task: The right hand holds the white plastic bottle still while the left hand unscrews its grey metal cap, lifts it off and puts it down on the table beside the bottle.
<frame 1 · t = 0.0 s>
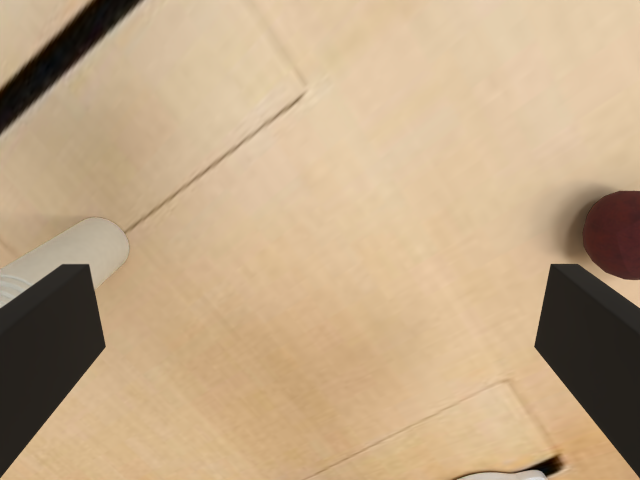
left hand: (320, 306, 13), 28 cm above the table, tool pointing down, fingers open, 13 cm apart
dark red ball: (604, 220, 41), on the table
bottle: (100, 244, 42), on the table
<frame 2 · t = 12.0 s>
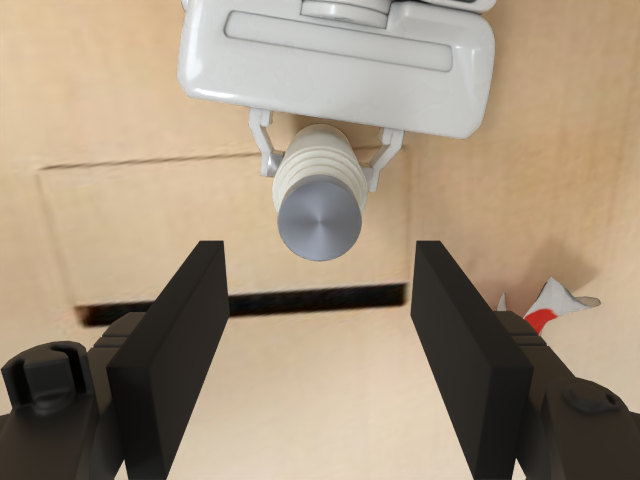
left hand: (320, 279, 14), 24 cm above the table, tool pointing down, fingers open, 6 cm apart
right hand: (318, 183, 32), fingers closed on bottle, 5 cm apart
cap: (319, 220, 20), point 18 cm above the table, screwed on, not yet turned
bottle: (319, 156, 37), on the table, touching right hand
fish: (497, 305, 42), on the table
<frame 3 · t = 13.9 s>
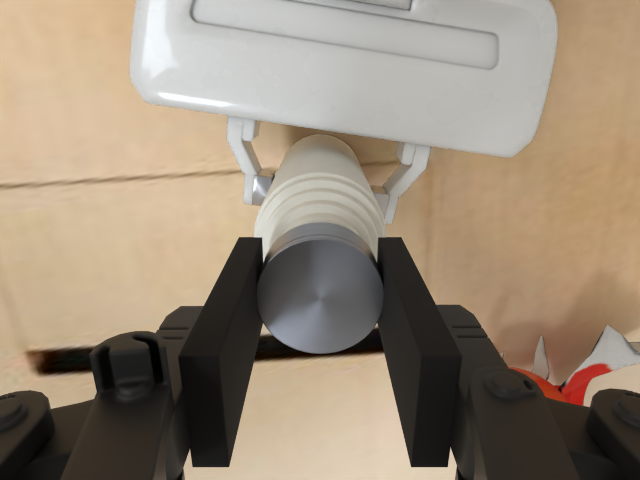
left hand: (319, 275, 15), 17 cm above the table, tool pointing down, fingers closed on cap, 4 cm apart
right hand: (318, 212, 25), fingers closed on bottle, 5 cm apart
cap: (320, 294, 13), point 18 cm above the table, screwed on, not yet turned, touching left hand
bottle: (320, 174, 30), on the table, touching right hand
fish: (533, 350, 35), on the table
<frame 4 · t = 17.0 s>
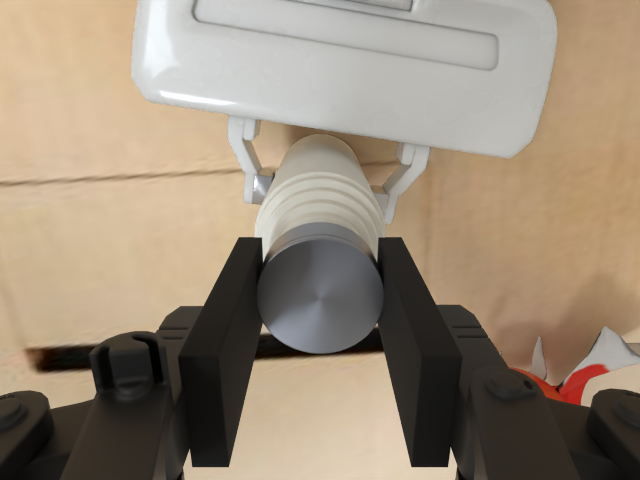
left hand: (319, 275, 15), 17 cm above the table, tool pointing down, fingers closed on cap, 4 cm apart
right hand: (318, 211, 25), fingers closed on bottle, 5 cm apart
cap: (320, 294, 13), point 18 cm above the table, turned 95° so far, risen 0.1 cm, still on its thread, touching left hand
bottle: (320, 174, 30), on the table, touching right hand
fish: (531, 350, 35), on the table
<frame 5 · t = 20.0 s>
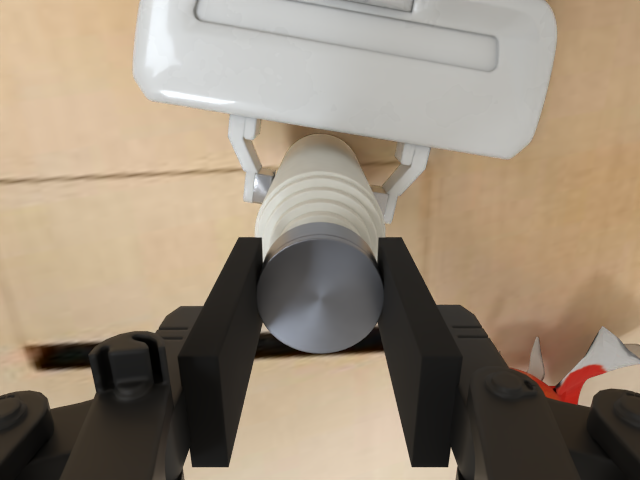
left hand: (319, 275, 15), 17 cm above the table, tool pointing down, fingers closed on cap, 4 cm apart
right hand: (318, 210, 25), fingers closed on bottle, 5 cm apart
cap: (320, 294, 13), point 18 cm above the table, turned 190° so far, risen 0.2 cm, still on its thread, touching left hand
bottle: (320, 173, 30), on the table, touching right hand
fish: (529, 351, 35), on the table
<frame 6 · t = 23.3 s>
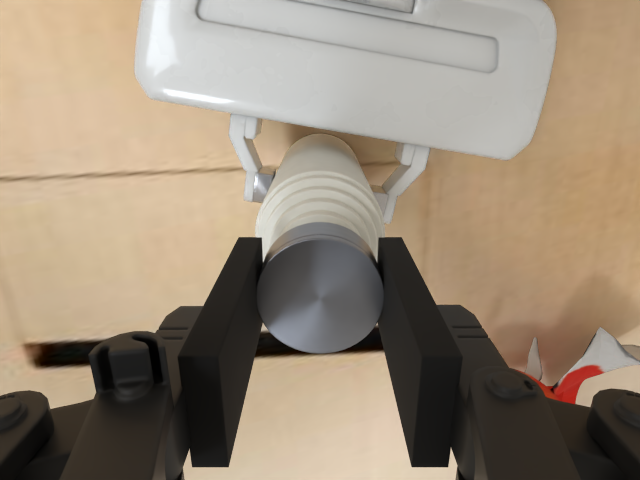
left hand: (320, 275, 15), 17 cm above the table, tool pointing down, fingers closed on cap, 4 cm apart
right hand: (318, 210, 25), fingers closed on bottle, 5 cm apart
cap: (320, 294, 13), point 18 cm above the table, turned 285° so far, risen 0.3 cm, still on its thread, touching left hand
bottle: (320, 173, 30), on the table, touching right hand
fish: (527, 351, 36), on the table
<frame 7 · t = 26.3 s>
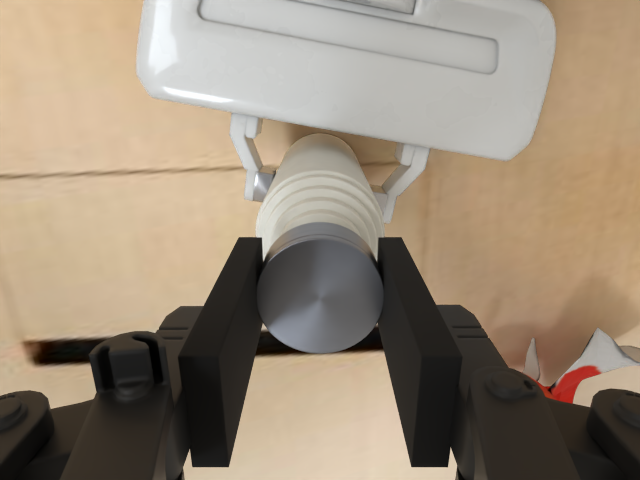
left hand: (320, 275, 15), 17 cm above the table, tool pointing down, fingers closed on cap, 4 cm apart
right hand: (318, 209, 25), fingers closed on bottle, 5 cm apart
cap: (320, 294, 13), point 18 cm above the table, turned 380° so far, risen 0.4 cm, still on its thread, touching left hand
bottle: (320, 173, 31), on the table, touching right hand
fish: (525, 351, 36), on the table
when the left hand's fingers open (1 cm above the table, at t = 33.0 s): cap drops 1 cm, point 1 cm above the table.
when the right hand's fingers open (6 cm above the table, at t = 34.4 s): bottle stays where it is, on the table.
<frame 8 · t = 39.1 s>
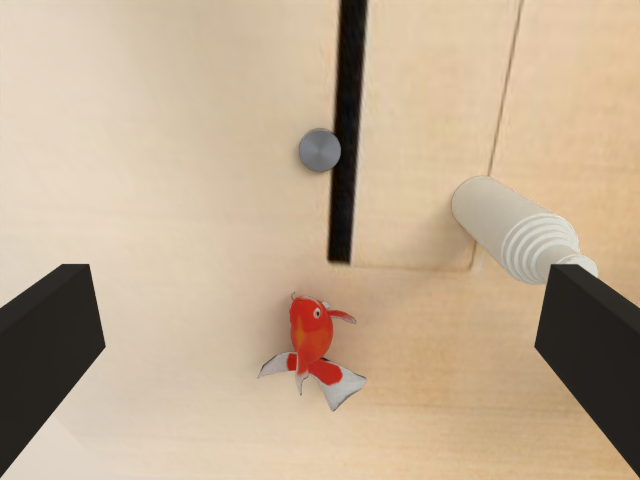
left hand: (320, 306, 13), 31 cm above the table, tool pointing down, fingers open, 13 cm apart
cap: (319, 150, 41), point 1 cm above the table, off its thread
bottle: (478, 202, 44), on the table
fish: (318, 334, 49), on the table
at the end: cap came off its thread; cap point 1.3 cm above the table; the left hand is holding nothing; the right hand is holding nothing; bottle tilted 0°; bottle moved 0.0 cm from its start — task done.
